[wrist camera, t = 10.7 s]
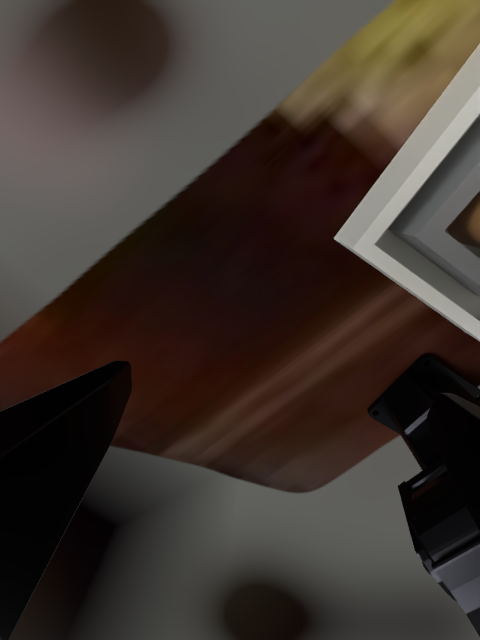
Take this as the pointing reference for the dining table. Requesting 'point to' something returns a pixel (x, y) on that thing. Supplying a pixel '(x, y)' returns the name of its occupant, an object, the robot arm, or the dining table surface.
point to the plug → (467, 224)
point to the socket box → (429, 207)
